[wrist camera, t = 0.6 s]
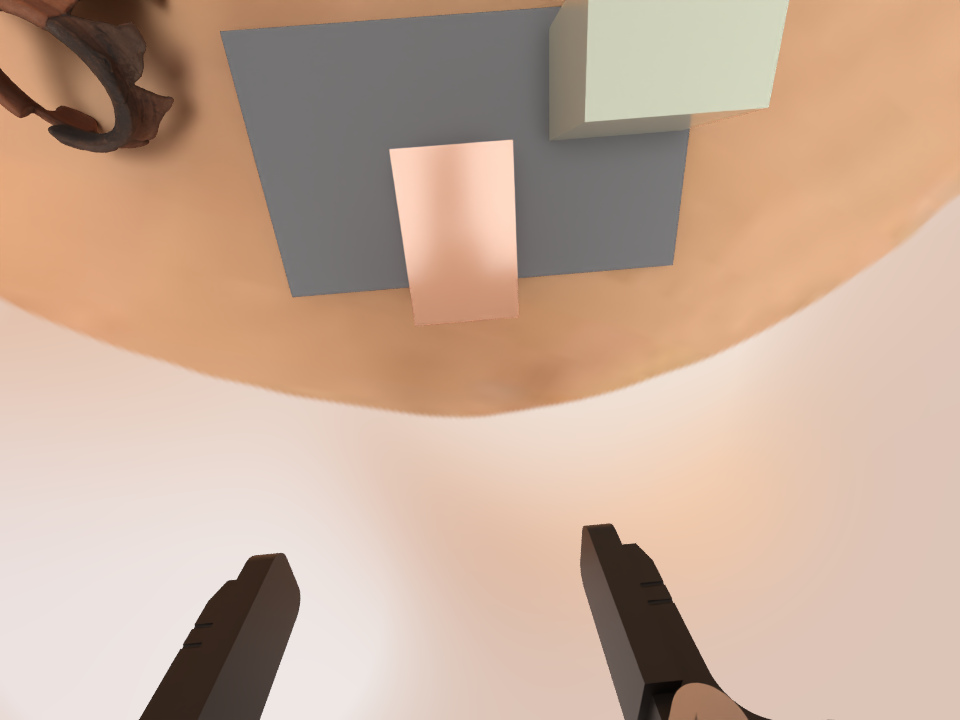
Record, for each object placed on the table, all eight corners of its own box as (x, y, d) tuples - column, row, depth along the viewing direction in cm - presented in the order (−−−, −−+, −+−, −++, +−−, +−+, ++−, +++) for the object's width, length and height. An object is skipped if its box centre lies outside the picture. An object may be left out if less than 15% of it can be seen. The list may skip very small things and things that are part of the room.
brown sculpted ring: (224, 13, 24) (154, 62, 19) (199, 139, 30) (141, 200, 25) (-64, -200, 18) (-272, -209, 13) (-23, 10, 24) (-154, 57, 19)
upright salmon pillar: (408, 160, 26) (389, 149, 19) (497, 153, 26) (512, 139, 19) (425, 292, 30) (415, 325, 22) (504, 285, 30) (518, 317, 23)
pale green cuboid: (549, 140, 26) (584, 122, 19) (549, 28, 24) (589, -44, 16) (682, 130, 26) (768, 107, 19) (695, 17, 24) (800, -59, 17)
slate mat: (228, 37, 24) (219, 31, 23) (696, 3, 24) (706, -4, 23) (297, 294, 30) (292, 297, 29) (666, 262, 31) (672, 265, 30)
